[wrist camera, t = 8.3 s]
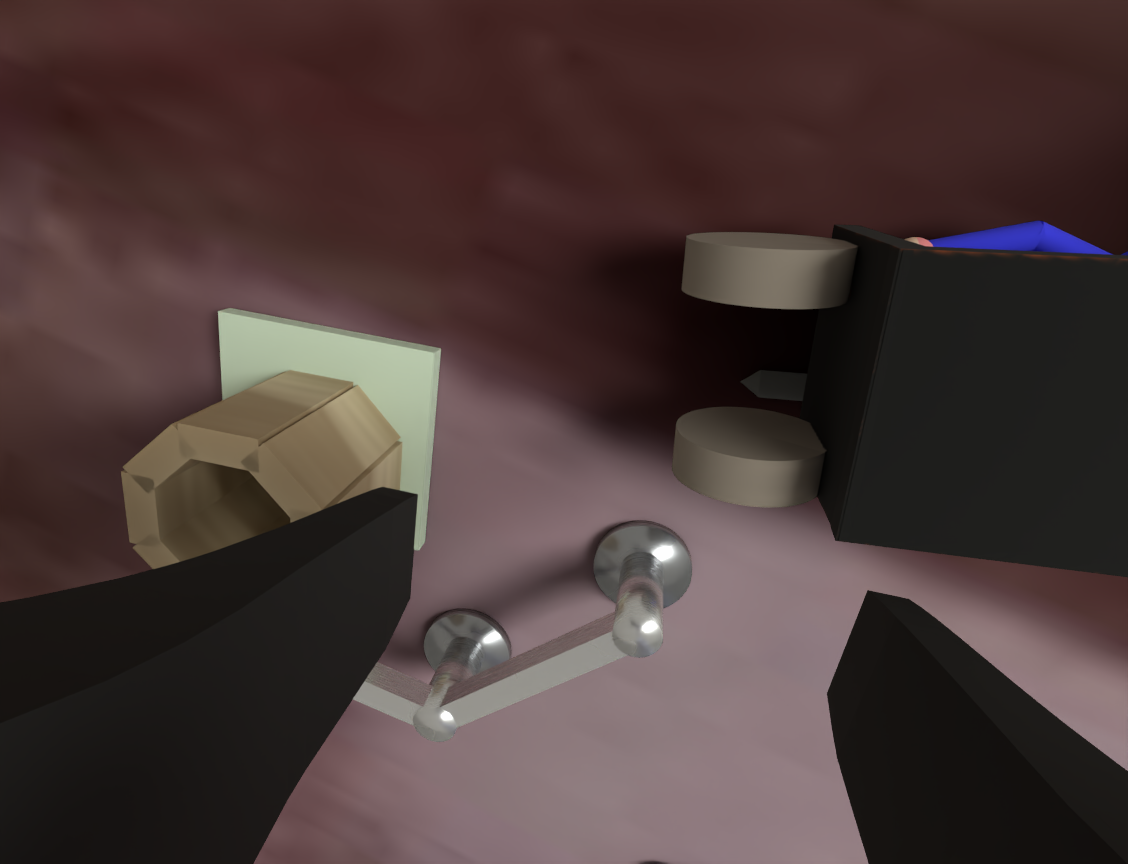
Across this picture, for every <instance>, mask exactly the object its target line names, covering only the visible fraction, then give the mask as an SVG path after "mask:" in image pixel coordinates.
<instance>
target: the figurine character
mask: <svg viewBox="0 0 1128 864" xmlns="http://www.w3.org/2000/svg"><path fill="white" fill-rule="evenodd" d="M682 291H683V292H684V293H686V294H688V295H691V296H693V297H696V298H700V299H704V300H708V301H713V302H719V303H725V304H731V305H739V306H748V307H759V308H773V309H819V312H818V317H817V323H816V328H815V334H814V340H813V345H812V351H811V356H810V362H809V367H808V373H807V374H805V373H792V372H779V371H766V370H759V371H758V372H756V373H754V374H753V375H751V376H749V377H747V378H746V379H744V380H742V381H740V382H741V383H742V384H744V385H745V386H746V387H747V388H748V389H749V390H751V391H752V392H753V393H754V394H755V395H757V396H758V397H761V398H773V399H784V400H796V401H802V406H801V412H800V418H796V417H793V416H790V415H786V414H782V413H778V412H774V411H769V410H763V409H755V408H746V407H711V408H704V409H699V410H694V411H691V412H688V413H686V414H684V415H683V416H681V417H680V418H679V419H678V420H677V423H676V431H675V441H674V451H673V461H672V471H673V473H674V475H675V477H676V478H677V479H678V480H679V481H680V482H681V483H682V484H684V485H685V486H687V487H688V488H690V489H692V490H694V491H696V492H698V493H700V494H702V495H705V496H707V497H710V498H713V499H716V500H720V501H723V502H728V503H732V504H737V505H744V506H752V507H788V506H794V505H799V504H802V503H806V502H808V501H810V500H812V499H814V498H815V497H817V496H818V499H819V501H820V503H821V505H822V507H823V509H824V511H825V513H826V516H827V518H828V520H829V522H830V524H831V529H832V532H833V535H834V538H835V541H843V542H851V543H859V544H867V545H875V546H883V547H891V548H899V549H907V550H915V551H923V552H931V553H939V554H947V555H955V556H963V557H971V558H979V559H987V560H995V561H1003V562H1011V563H1019V564H1027V565H1035V566H1043V567H1051V568H1059V569H1067V570H1075V571H1083V572H1091V573H1099V574H1107V575H1115V576H1123V577H1128V252H1126V253H1123V254H1121V255H1113V254H1110V253H1108V252H1106V251H1104V250H1102V249H1100V248H1098V247H1096V246H1094V245H1092V244H1089V243H1087V242H1085V241H1083V240H1081V239H1079V238H1077V237H1075V236H1073V235H1071V234H1068V233H1066V232H1064V231H1062V230H1060V229H1058V228H1056V227H1054V226H1052V225H1050V224H1047V223H1045V222H1043V221H1033V222H1027V223H1022V224H1016V225H1010V226H1005V227H999V228H994V229H988V230H983V231H977V232H972V233H966V234H961V235H955V236H949V237H944V238H938V239H933V240H926V239H924V238H920V237H911V238H907V239H901V238H898V237H894V236H891V235H888V234H885V233H882V232H878V231H875V230H872V229H869V228H866V227H862V226H856V225H834V228H833V234H832V239H831V238H824V237H814V236H804V235H791V234H776V233H753V232H710V233H697V234H691V235H688V236H687V237H686V247H685V258H684V268H683V279H682Z"/></svg>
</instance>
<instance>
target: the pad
mask: <svg viewBox="0 0 1128 864" xmlns="http://www.w3.org/2000/svg"><path fill="white" fill-rule="evenodd" d="M218 321H219V341H220V361H221V381H222V400H224V399H227V398H229V397H231V396H233V395H235V394H237V393H239V392H242V391H244V390H246V389H248V388H250V387H252V386H254V385H257V384H259V383H261V382H263V381H265V380H267V379H270V378H272V377H274V376H276V375H278V374H280V373H282V372H285V371H286V372H287V371H289V370H293V371H298V372H304V373H309V374H314V375H319V376H325V377H330V378H335V379H340V380H345V381H351V382H353V388H354V387H355V386H357V385H358V386H359V387H360V388H361V389H362V390H363V392H364V393H365V394H366V395H367V397H368V398H369V399H370V400H371V401H372V403H373V404H374V405H375V406H376V408H377V409H378V410H379V411H380V412H381V414H382V415H383V416H384V417H385V418H386V420H387V421H388V422H389V423H390V425H391V426H392V427H393V428H394V429H395V431H396V432H397V433H398V434H399V436H400V437H401V438H400V439H399V440H398V441H400V442H403V444H402V463H401V481H400V490H401V491H405V492H410V493H415V494H418V500H417V514H416V527H415V540H414V550H418V551H419V550H420V548H421V547H422V545H423V544H424V543H425V537H426V525H427V513H428V501H429V489H430V477H431V464H432V452H433V440H434V428H435V416H436V404H437V392H438V380H439V368H440V355H441V348H436V347H431V346H426V345H421V344H416V343H410V342H405V341H400V340H395V339H390V338H384V337H379V336H374V335H369V334H364V333H358V332H353V331H348V330H343V329H337V328H332V327H327V326H322V325H317V324H311V323H306V322H301V321H296V320H291V319H285V318H280V317H275V316H270V315H265V314H259V313H254V312H249V311H244V310H239V309H233V308H228V309H224V310H221V311H218Z"/></svg>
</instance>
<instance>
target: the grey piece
mask: <svg viewBox="0 0 1128 864" xmlns="http://www.w3.org/2000/svg"><path fill="white" fill-rule="evenodd" d="M594 575H595V578H596V581H597V583H598V585H599V587H600V589H601V590H602V591H603V593H604V594H605V595H606V596H607V597H608V598H609V599H611V600H612V601H613V602H615V603H616V608H615V612H613V613H611V614H608V615H606V616H604V617H602V618H600V619H597V620H595V621H593V622H591V623H588V624H586V625H584V626H582V627H580V628H577V629H575V630H573V631H571V632H569V633H566V634H564V635H562V636H560V637H558V638H555V639H553V640H551V641H549V642H547V643H544V644H542V645H540V646H538V647H535V648H533V649H531V650H529V651H527V652H524V653H522V654H520V655H518V656H516V657H513V658H511V651H512V650H511V643H510V640H509V638H508V635H507V634H506V632H505V631H504V629H503V628H502V627H501V626H500V625H499V624H498V623H497V622H496V621H495V620H494V619H492V618H491V617H489V616H487V615H485V614H483V613H481V612H478V611H474V610H469V609H456V610H451V611H448V612H445V613H443V614H441V615H440V616H438V617H437V618H436V619H435V620H434V622H433V623H432V625H431V626H430V628H429V630H428V632H427V634H426V636H425V640H424V651H425V655H426V658H427V660H428V662H429V664H430V665H431V667H432V668H433V669H434V670H435V674H434V676H433V678H432V680H431V682H430V684H427V683H424V682H422V681H420V680H417V679H415V678H413V677H410V676H408V675H406V674H404V673H401V672H399V671H397V670H394V669H392V668H390V667H387V666H385V665H383V664H380V663H378V662H377V663H376V664H375V666H374V668H373V669H372V671H371V672H370V674H369V675H368V677H367V678H366V680H365V681H364V683H363V684H362V686H361V687H360V689H359V690H358V692H357V693H356V695H355V696H354V698H353V700H356V701H358V702H360V703H363V704H365V705H367V706H370V707H372V708H374V709H377V710H379V711H381V712H383V713H386V714H388V715H390V716H393V717H395V718H397V719H400V720H402V721H404V722H406V723H409V724H411V725H413V726H414V727H415V729H416V731H417V732H418V733H419V734H420V735H421V736H423V737H424V738H426V739H428V740H431V741H435V742H444V741H447V740H449V739H451V738H452V737H453V735H454V734H455V731H456V729H457V728H458V727H460V726H462V725H465V724H467V723H469V722H472V721H474V720H476V719H479V718H481V717H483V716H486V715H488V714H491V713H493V712H495V711H498V710H500V709H502V708H505V707H507V706H509V705H512V704H514V703H516V702H519V701H521V700H524V699H526V698H528V697H531V696H533V695H535V694H538V693H540V692H542V691H545V690H547V689H549V688H552V687H554V686H556V685H559V684H561V683H564V682H566V681H568V680H571V679H573V678H575V677H578V676H580V675H582V674H585V673H587V672H589V671H592V670H594V669H597V668H599V667H601V666H604V665H606V664H608V663H611V662H613V661H615V660H618V659H620V658H622V657H625V656H627V655H629V656H632V657H639V658H640V657H647V656H650V655H652V654H654V653H655V652H657V651H658V650H659V648H660V647H661V644H662V641H663V608H665V607H668V606H670V605H672V604H673V603H675V602H676V601H677V600H679V599H680V598H681V597H682V596H683V594H684V593H685V592H686V590H687V588H688V587H689V584H690V581H691V576H692V563H691V556H690V553H689V550H688V548H687V546H686V545H685V543H684V541H683V540H682V539H681V538H680V537H679V536H678V535H677V534H676V533H675V532H673V531H672V530H671V529H669V528H667V527H665V526H663V525H660V524H658V523H654V522H649V521H632V522H627V523H624V524H621V525H619V526H617V527H615V528H613V529H612V530H610V531H609V532H608V533H607V534H606V535H605V536H604V537H603V538H602V540H601V541H600V543H599V545H598V547H597V550H596V554H595V558H594ZM510 658H511V659H510Z"/></svg>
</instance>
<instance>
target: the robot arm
mask: <svg viewBox="0 0 1128 864" xmlns="http://www.w3.org/2000/svg"><path fill="white" fill-rule="evenodd" d="M417 500H418V494H415V493H410V492H405V491H401V490H396V489H391V488H387V487H380V488H377V489H373V490H370V491H368V492H365V493H362V494H360V495H357V496H355V497H352V498H350V499H347V500H345V501H342V502H340V503H338V504H335V505H333V506H330V507H328V508H326V509H323V510H321V511H318V512H316V513H313V514H311V515H308V516H306V517H304V518H301V519H299V520H296V521H294V522H291V523H289V524H286V525H284V526H281V527H279V528H276V529H274V530H271V531H268V532H265V533H262V534H260V535H257V536H254V537H251V538H249V539H246V540H243V541H240V542H238V543H235V544H232V545H229V546H227V547H224V548H221V549H218V550H216V551H213V552H210V553H207V554H203V555H200V556H197V557H194V558H191V559H187V560H184V561H181V562H178V563H174V564H171V565H167V566H163V567H160V568H156V569H152V570H149V571H145V572H141V573H138V574H134V575H130V576H126V577H122V578H118V579H114V580H109V581H105V582H100V583H95V584H91V585H86V586H81V587H77V588H72V589H67V590H63V591H58V592H53V593H49V594H44V595H39V596H34V597H30V598H24V599H19V600H13V601H7V602H1V603H0V864H253V863H254V861H255V860H256V858H257V856H258V854H259V852H260V850H261V848H262V846H263V845H264V843H265V841H266V839H267V837H268V835H269V833H270V832H271V830H272V828H273V826H274V824H275V822H276V820H277V818H278V817H279V815H280V813H281V811H282V809H283V807H284V805H285V804H286V802H287V800H288V798H289V796H290V795H291V793H292V792H293V790H294V788H295V787H296V785H297V783H298V782H299V780H300V778H301V777H302V775H303V773H304V772H305V770H306V769H307V767H308V766H309V764H310V763H311V761H312V760H313V758H314V757H315V755H316V754H317V752H318V751H319V749H320V748H321V746H322V745H323V743H324V742H325V740H326V738H327V737H328V735H329V734H330V732H331V731H332V729H333V728H334V726H335V725H336V723H337V722H338V720H339V719H340V717H341V716H342V714H343V713H344V711H345V710H346V708H347V707H348V705H349V704H350V702H351V701H352V699H353V698H354V696H355V695H356V693H357V692H358V690H359V689H360V687H361V686H362V684H363V683H364V681H365V680H366V678H367V677H368V675H369V674H370V672H371V671H372V669H373V668H374V666H375V664H376V663H377V661H378V660H379V658H380V657H381V655H382V654H383V652H384V650H385V649H386V647H387V645H388V643H389V641H390V639H391V637H392V635H393V633H394V631H395V629H396V627H397V625H398V623H399V620H400V618H401V616H402V614H403V612H404V610H405V608H406V606H407V603H408V601H409V599H410V593H411V580H412V567H413V553H414V540H415V527H416V514H417ZM827 696H828V703H829V711H830V718H831V725H832V731H833V737H834V742H835V748H836V754H837V759H838V762H839V766H840V769H841V773H842V776H843V780H844V783H845V786H846V790H847V793H848V797H849V800H850V803H851V807H852V810H853V813H854V817H855V820H856V823H857V826H858V830H859V833H860V836H861V840H862V843H863V846H864V849H865V853H866V856H867V859H868V863H869V864H1128V771H1127V770H1125V769H1124V768H1123V767H1121V766H1120V765H1119V764H1117V763H1116V762H1115V761H1113V760H1112V759H1111V758H1109V757H1108V756H1107V755H1105V754H1104V753H1103V752H1101V751H1100V750H1099V749H1098V748H1096V747H1095V746H1094V745H1092V744H1091V743H1090V742H1088V741H1087V740H1086V739H1084V738H1083V737H1082V736H1080V735H1079V734H1078V733H1076V732H1075V731H1074V730H1073V729H1071V728H1070V727H1069V726H1067V725H1066V724H1065V723H1063V722H1062V721H1061V720H1060V719H1058V718H1057V717H1056V716H1055V715H1053V714H1052V713H1051V712H1050V711H1048V710H1047V709H1046V708H1045V707H1043V706H1042V705H1041V704H1040V703H1038V702H1037V701H1036V700H1035V699H1033V698H1032V697H1031V696H1030V695H1028V694H1027V693H1026V692H1025V691H1023V690H1022V689H1021V688H1020V687H1019V686H1017V685H1016V684H1015V683H1014V682H1012V681H1011V680H1010V679H1009V678H1008V677H1006V676H1005V675H1004V674H1003V673H1002V672H1000V671H999V670H998V669H997V668H996V667H994V666H993V665H992V664H991V663H989V662H988V661H987V660H986V659H985V658H983V657H982V656H981V655H980V654H979V653H977V652H976V651H975V650H974V649H973V648H971V647H970V646H969V645H968V644H967V643H965V642H964V641H963V640H962V639H961V638H959V637H958V636H957V635H956V634H954V633H953V632H952V631H951V630H950V629H948V628H947V627H946V626H945V625H943V624H942V623H941V622H940V621H938V620H937V619H936V618H935V617H933V616H932V615H931V614H929V613H928V612H927V611H925V610H924V609H923V608H921V607H920V606H918V605H917V604H915V603H914V602H912V601H911V600H909V599H906V598H901V597H897V596H892V595H887V594H883V593H878V592H873V591H869V590H868V591H867V593H866V596H865V598H864V601H863V603H862V606H861V609H860V611H859V614H858V616H857V619H856V621H855V624H854V626H853V629H852V631H851V634H850V636H849V639H848V641H847V644H846V647H845V649H844V652H843V654H842V657H841V659H840V662H839V664H838V667H837V669H836V672H835V674H834V677H833V679H832V682H831V685H830V687H829V690H828V692H827Z"/></svg>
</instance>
